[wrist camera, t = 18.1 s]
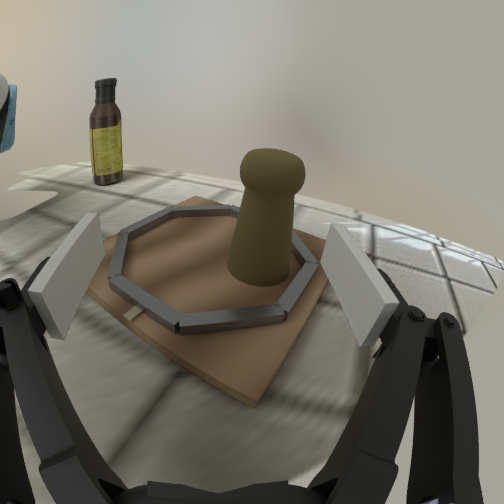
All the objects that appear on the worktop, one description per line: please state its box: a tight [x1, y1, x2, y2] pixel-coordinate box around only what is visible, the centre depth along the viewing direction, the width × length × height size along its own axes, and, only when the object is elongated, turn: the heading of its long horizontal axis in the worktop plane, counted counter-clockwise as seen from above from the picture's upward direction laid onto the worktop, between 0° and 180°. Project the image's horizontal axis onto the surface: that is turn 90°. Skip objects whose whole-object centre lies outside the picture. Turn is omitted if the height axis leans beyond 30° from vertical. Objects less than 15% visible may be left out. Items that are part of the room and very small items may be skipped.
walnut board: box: [86, 196, 329, 408], centre depth 27 cm, size 22×22×1 cm
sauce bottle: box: [89, 78, 123, 185], centre depth 40 cm, size 6×6×20 cm
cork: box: [227, 148, 305, 287], centre depth 23 cm, size 6×6×11 cm
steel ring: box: [107, 205, 319, 336], centre depth 26 cm, size 19×19×1 cm
